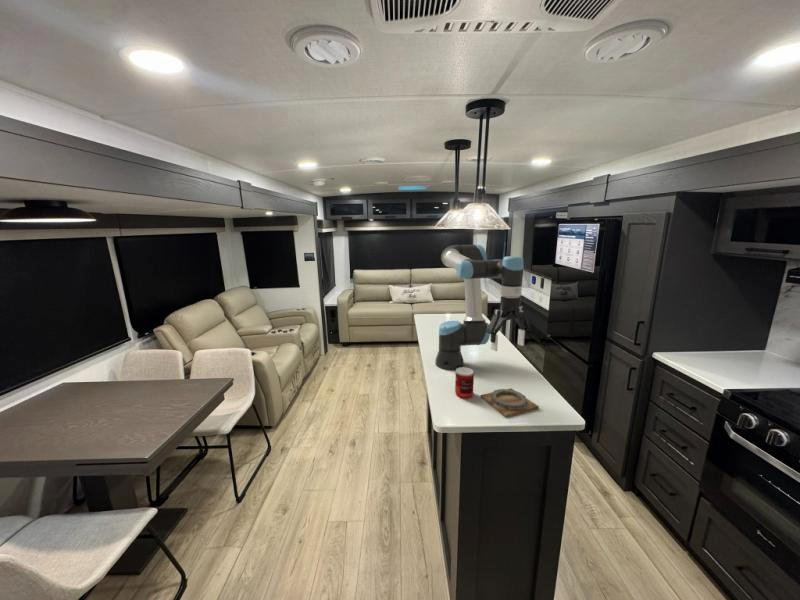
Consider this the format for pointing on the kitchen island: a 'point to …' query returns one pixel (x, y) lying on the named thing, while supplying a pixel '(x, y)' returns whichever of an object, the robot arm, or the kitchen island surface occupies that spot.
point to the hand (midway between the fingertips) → (507, 347)
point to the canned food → (464, 382)
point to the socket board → (509, 402)
